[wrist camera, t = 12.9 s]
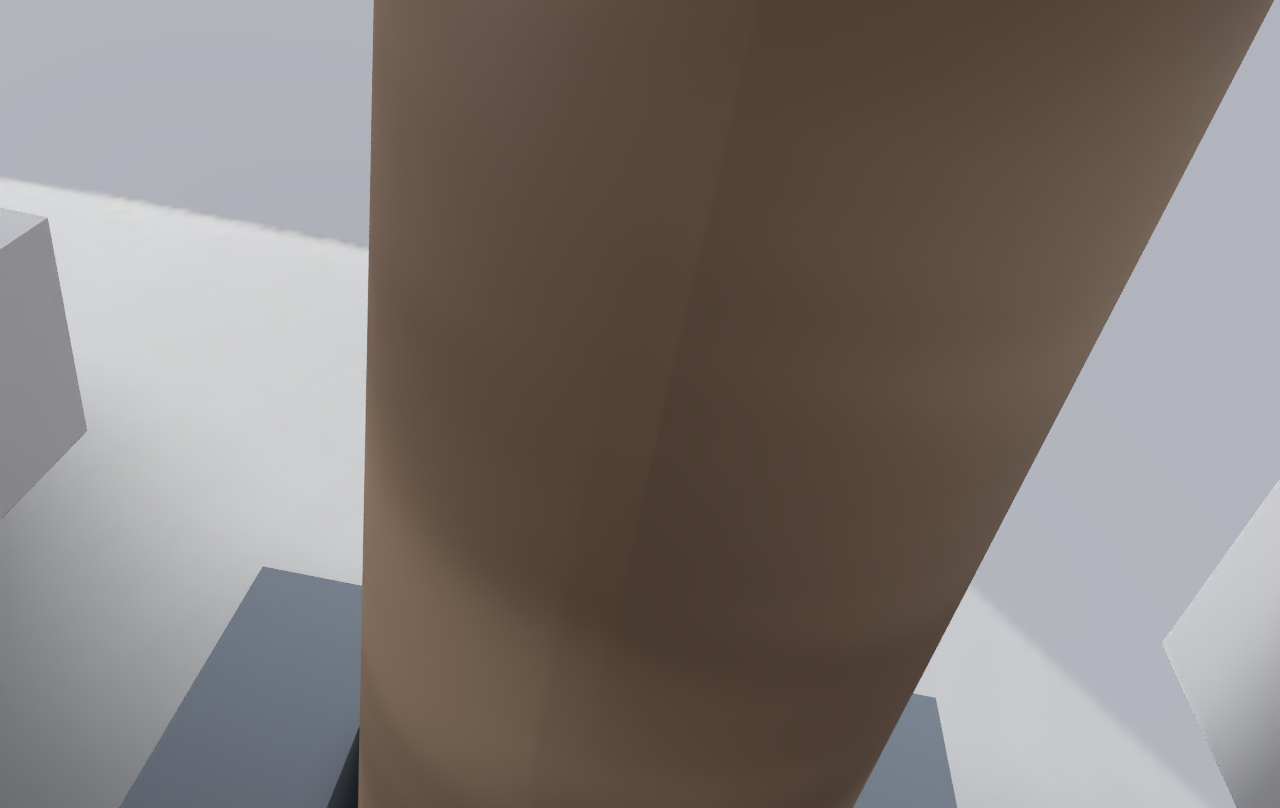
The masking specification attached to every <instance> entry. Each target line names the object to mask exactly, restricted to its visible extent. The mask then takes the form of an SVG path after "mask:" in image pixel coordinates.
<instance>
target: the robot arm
mask: <svg viewBox="0 0 1280 808" xmlns="http://www.w3.org/2000/svg"><path fill="white" fill-rule="evenodd" d="M86 431H87V429H86V423H85V418H84V412H83V407H82V402H81V396H80V391H79V385H78V380H77V375H76V369H75V364H74V358H73V353H72V348H71V342H70V337H69V331H68V326H67V321H66V315H65V310H64V304H63V299H62V294H61V288H60V283H59V277H58V272H57V267H56V261H55V256H54V250H53V245H52V239H51V234H50V229H49V223H48V218H47V217H42V216H37V215H32V214H27V213H22V212H17V211H12V210H7V209H3V208H0V520H1V519H2V518H3V517H4V516H5V515H6V514H7V513H8V512H9V511H10V510H11V509H12V508H13V507H14V506H15V505H16V504H17V503H18V502H19V500H20V499H21V498H22V497H23V496H24V495H25V494H26V493H27V492H28V491H29V490H30V489H31V488H32V487H33V486H34V485H35V484H36V483H37V482H38V481H39V480H40V479H41V478H42V477H43V476H44V475H45V474H46V473H47V472H48V471H49V470H50V469H51V467H52V466H53V465H54V464H55V463H56V462H57V461H58V460H59V459H60V458H61V457H62V456H63V455H64V454H65V453H66V452H67V451H68V450H69V449H70V448H71V447H72V446H73V445H74V444H75V443H76V442H77V441H78V440H79V439H80V438H81V437H82V436H83V434H84V433H85V432H86ZM1162 645H1163V647H1164V649H1165V652H1166V654H1167V656H1168V658H1169V660H1170V662H1171V665H1172V667H1173V669H1174V671H1175V673H1176V675H1177V678H1178V680H1179V682H1180V684H1181V687H1182V688H1183V691H1184V693H1185V695H1186V697H1187V699H1188V702H1189V704H1190V706H1191V708H1192V710H1193V712H1194V715H1195V717H1196V719H1197V721H1198V724H1199V726H1200V728H1201V730H1202V732H1203V734H1204V737H1205V739H1206V741H1207V743H1208V745H1209V747H1210V750H1211V752H1212V754H1213V756H1214V758H1215V761H1216V763H1217V765H1218V767H1219V769H1220V772H1221V774H1222V776H1223V778H1224V780H1225V782H1226V785H1227V787H1228V789H1229V791H1230V793H1231V795H1232V798H1233V800H1234V802H1235V804H1236V806H1237V808H1280V479H1279V480H1278V482H1277V483H1276V485H1275V486H1274V487H1273V489H1272V490H1271V492H1270V493H1269V494H1268V496H1267V497H1266V499H1265V500H1264V501H1263V503H1262V504H1261V506H1260V507H1259V508H1258V510H1257V511H1256V513H1255V514H1254V516H1253V517H1252V518H1251V520H1250V521H1249V523H1248V524H1247V525H1246V527H1245V528H1244V529H1243V531H1242V532H1241V534H1240V535H1239V536H1238V538H1237V539H1236V541H1235V542H1234V543H1233V545H1232V546H1231V547H1230V549H1229V550H1228V552H1227V553H1226V555H1225V556H1224V557H1223V559H1222V560H1221V561H1220V563H1219V564H1218V566H1217V567H1216V568H1215V570H1214V572H1213V573H1212V574H1211V575H1210V577H1209V578H1208V580H1207V581H1206V582H1205V584H1204V585H1203V587H1202V588H1201V589H1200V591H1199V592H1198V594H1197V595H1196V596H1195V598H1194V599H1193V601H1192V602H1191V603H1190V605H1189V606H1188V608H1187V609H1186V610H1185V612H1184V613H1183V615H1182V616H1181V617H1180V619H1179V620H1178V622H1177V623H1176V624H1175V626H1174V627H1173V629H1172V630H1171V631H1170V633H1169V634H1168V635H1167V637H1166V638H1165V640H1164V641H1163V643H1162Z"/></svg>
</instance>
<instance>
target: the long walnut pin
mask: <svg viewBox="0 0 1280 808" xmlns="http://www.w3.org/2000/svg"><path fill="white" fill-rule="evenodd" d="M1273 1H1274V0H374V21H373V72H372V123H371V125H372V126H371V175H370V176H371V177H370V225H369V227H370V228H369V229H370V230H369V276H368V327H367V379H366V430H365V481H364V532H363V583H362V634H361V685H360V737H359V788H358V808H853V807H854V805H855V803H856V801H857V799H858V797H859V796H860V794H861V792H862V790H863V788H864V786H865V784H866V782H867V780H868V778H869V776H870V774H871V773H872V771H873V769H874V767H875V765H876V763H877V761H878V759H879V757H880V755H881V753H882V751H883V750H884V748H885V746H886V744H887V742H888V740H889V738H890V736H891V734H892V732H893V730H894V728H895V726H896V725H897V723H898V721H899V719H900V717H901V715H902V713H903V711H904V709H905V707H906V705H907V703H908V702H909V700H910V698H911V696H912V694H913V692H914V690H915V688H916V686H917V684H918V682H919V680H920V679H921V677H922V675H923V673H924V671H925V669H926V667H927V665H928V663H929V661H930V659H931V657H932V655H933V654H934V652H935V650H936V648H937V646H938V644H939V642H940V640H941V638H942V636H943V634H944V632H945V631H946V629H947V627H948V625H949V623H950V621H951V619H952V617H953V615H954V613H955V611H956V609H957V608H958V606H959V604H960V602H961V600H962V598H963V596H964V594H965V592H966V590H967V588H968V586H969V584H970V583H971V581H972V579H973V577H974V575H975V573H976V571H977V569H978V567H979V565H980V563H981V561H982V560H983V558H984V556H985V554H986V552H987V550H988V548H989V546H990V544H991V542H992V540H993V538H994V537H995V535H996V532H997V531H998V529H999V527H1000V525H1001V523H1002V521H1003V519H1004V517H1005V515H1006V513H1007V512H1008V510H1009V508H1010V506H1011V504H1012V502H1013V500H1014V498H1015V496H1016V494H1017V492H1018V490H1019V489H1020V487H1021V485H1022V483H1023V481H1024V479H1025V477H1026V475H1027V473H1028V471H1029V469H1030V467H1031V466H1032V464H1033V462H1034V459H1035V458H1036V456H1037V454H1038V452H1039V450H1040V448H1041V446H1042V444H1043V442H1044V441H1045V439H1046V437H1047V435H1048V433H1049V431H1050V429H1051V427H1052V425H1053V423H1054V421H1055V419H1056V417H1057V416H1058V414H1059V412H1060V410H1061V408H1062V406H1063V404H1064V402H1065V400H1066V398H1067V396H1068V395H1069V393H1070V391H1071V389H1072V387H1073V385H1074V383H1075V381H1076V379H1077V377H1078V375H1079V373H1080V371H1081V370H1082V368H1083V366H1084V363H1085V362H1086V360H1087V358H1088V356H1089V354H1090V352H1091V350H1092V348H1093V346H1094V345H1095V343H1096V341H1097V339H1098V337H1099V335H1100V333H1101V331H1102V329H1103V327H1104V325H1105V324H1106V322H1107V320H1108V318H1109V316H1110V314H1111V312H1112V310H1113V308H1114V306H1115V304H1116V302H1117V301H1118V298H1119V297H1120V295H1121V293H1122V291H1123V289H1124V287H1125V285H1126V283H1127V281H1128V279H1129V277H1130V276H1131V274H1132V272H1133V270H1134V268H1135V266H1136V264H1137V262H1138V260H1139V258H1140V256H1141V254H1142V252H1143V251H1144V249H1145V247H1146V245H1147V243H1148V241H1149V239H1150V237H1151V235H1152V233H1153V231H1154V230H1155V227H1156V225H1157V224H1158V222H1159V220H1160V218H1161V216H1162V214H1163V212H1164V210H1165V208H1166V206H1167V205H1168V203H1169V201H1170V199H1171V197H1172V195H1173V193H1174V191H1175V189H1176V187H1177V185H1178V183H1179V182H1180V180H1181V178H1182V176H1183V174H1184V172H1185V170H1186V168H1187V166H1188V164H1189V162H1190V160H1191V158H1192V157H1193V155H1194V153H1195V151H1196V149H1197V147H1198V145H1199V143H1200V141H1201V139H1202V137H1203V135H1204V134H1205V132H1206V130H1207V128H1208V126H1209V124H1210V122H1211V120H1212V118H1213V116H1214V114H1215V112H1216V110H1217V109H1218V107H1219V105H1220V103H1221V101H1222V99H1223V97H1224V95H1225V93H1226V91H1227V89H1228V87H1229V85H1230V84H1231V82H1232V80H1233V78H1234V76H1235V74H1236V72H1237V70H1238V68H1239V66H1240V64H1241V63H1242V61H1243V59H1244V57H1245V55H1246V53H1247V51H1248V49H1249V47H1250V45H1251V43H1252V41H1253V40H1254V37H1255V36H1256V34H1257V32H1258V30H1259V28H1260V26H1261V24H1262V22H1263V20H1264V18H1265V16H1266V14H1267V13H1268V11H1269V9H1270V7H1271V5H1272V3H1273Z"/></svg>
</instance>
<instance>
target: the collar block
mask: <svg viewBox="0 0 1280 808" xmlns="http://www.w3.org/2000/svg"><path fill="white" fill-rule="evenodd" d="M361 634H362V586H360V585H354V584H349V583H344V582H339V581H334V580H329V579H324V578H319V577H313V576H308V575H303V574H298V573H293V572H288V571H283V570H278V569H273V568H267V567H262V569H261V570H260V572H259V574H258V575H257V577H256V579H255V580H254V582H253V584H252V586H251V587H250V589H249V591H248V592H247V594H246V596H245V597H244V599H243V601H242V602H241V604H240V606H239V607H238V609H237V611H236V612H235V614H234V616H233V618H232V619H231V621H230V623H229V624H228V626H227V628H226V629H225V631H224V633H223V634H222V636H221V638H220V639H219V641H218V643H217V644H216V646H215V648H214V649H213V651H212V653H211V655H210V656H209V658H208V660H207V661H206V663H205V665H204V666H203V668H202V670H201V671H200V673H199V675H198V676H197V678H196V680H195V681H194V683H193V685H192V687H191V688H190V690H189V692H188V693H187V695H186V697H185V698H184V700H183V702H182V703H181V705H180V707H179V708H178V710H177V712H176V713H175V715H174V717H173V718H172V720H171V722H170V724H169V725H168V727H167V729H166V730H165V732H164V734H163V735H162V737H161V739H160V740H159V742H158V744H157V745H156V747H155V749H154V750H153V752H152V754H151V755H150V757H149V759H148V761H147V762H146V764H145V766H144V767H143V769H142V771H141V772H140V774H139V776H138V777H137V779H136V781H135V782H134V784H133V786H132V787H131V789H130V791H129V793H128V794H127V796H126V798H125V799H124V801H123V803H122V804H121V806H120V808H358V788H359V737H360V685H361ZM853 808H957V805H956V800H955V795H954V790H953V785H952V779H951V774H950V769H949V764H948V759H947V754H946V749H945V744H944V738H943V733H942V728H941V723H940V718H939V713H938V708H937V703H936V698H933V697H928V696H923V695H917V694H912V696H911V698H910V700H909V702H908V703H907V705H906V707H905V709H904V711H903V713H902V715H901V717H900V719H899V721H898V723H897V725H896V726H895V728H894V730H893V732H892V734H891V736H890V738H889V740H888V742H887V744H886V746H885V748H884V750H883V751H882V753H881V755H880V757H879V759H878V761H877V763H876V765H875V767H874V769H873V771H872V773H871V774H870V776H869V778H868V780H867V782H866V784H865V786H864V788H863V790H862V792H861V794H860V796H859V797H858V799H857V801H856V803H855V805H854V807H853Z"/></svg>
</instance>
